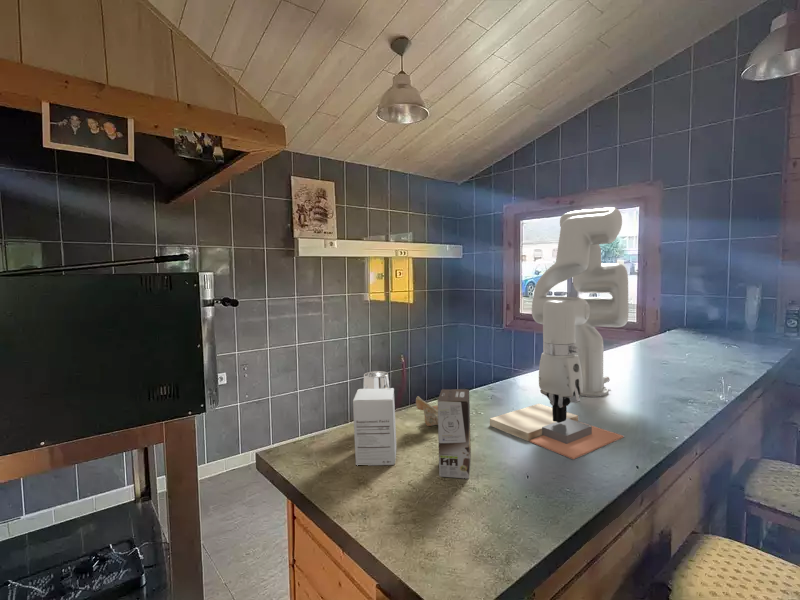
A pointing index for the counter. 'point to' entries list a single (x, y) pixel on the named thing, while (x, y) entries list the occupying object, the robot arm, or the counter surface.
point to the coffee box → (454, 433)
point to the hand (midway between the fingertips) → (559, 420)
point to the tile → (567, 431)
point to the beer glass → (376, 380)
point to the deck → (527, 421)
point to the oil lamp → (428, 412)
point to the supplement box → (374, 427)
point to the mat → (578, 443)
